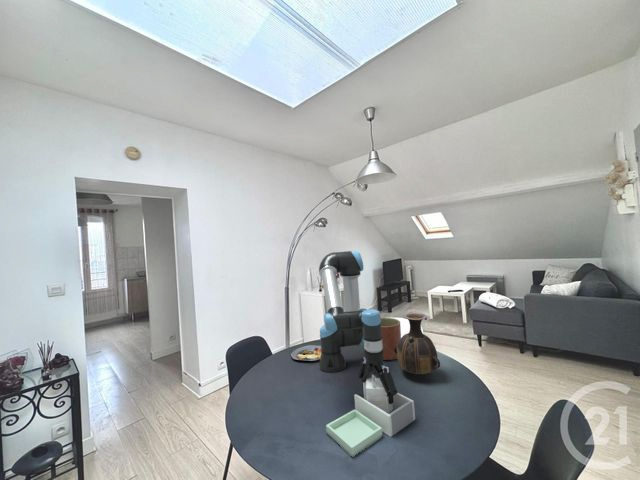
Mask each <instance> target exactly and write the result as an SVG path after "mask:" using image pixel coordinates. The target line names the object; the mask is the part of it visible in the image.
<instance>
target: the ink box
mask: <svg viewBox="0 0 640 480" xmlns="http://www.w3.org/2000/svg"><path fill="white" fill-rule="evenodd" d="M386 394H387V393H386V391H385V389H384V387H383V385H382V383H381V381H380V379H379V378H378V377H376V376H375V375H374V373H373V374H372V373H371V377H368V378H367V379H366V397H367V399H366V400H367V401H368V402H370V403H372V404H373V405H375V406H376V407H378V408H380V409H381V410H383V411H385V412H386V413H387V408H386V396H385V395H386ZM390 413H391V412H389V413H388V414H390Z"/></svg>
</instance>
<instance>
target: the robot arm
mask: <svg viewBox="0 0 640 480" xmlns="http://www.w3.org/2000/svg"><path fill="white" fill-rule="evenodd" d="M362 271H364V262H363V258H362V255H361V253H360V252H359V251H357V250H348V251H337V252H335V251H334V252H333V251H332V252H330V253H328V254H326V255H325V256H324V257H323V258H322V259H321V261H320V264H319V267H318V273H319V277H320V278H321V279H322V285H323V286H322V287H323V294H324V299H325V305H326V312H327V313H325V314H324V315H323V322H324V325H322V326H321V327H320V328H319V338H320V345H321V357H320V359H319V361H318V368H319V370H320V371H322V372H325V373H338V372H341V371H343V370H344V369H345V368H346V366H347V363H346V359H345V357H344V354H343V351H342V348H344V347H345V348H348V347H356V346H357V347H359V346H363V348H364V351H363V352H364V357H361V358H360V367H359V371H358V375H357V378H358V379H359V380H360V381H361V382H362V383H361V384H362V389H363V390H362V391H363V399H365V400H367V397H366V379H367V378H370V375H372V373H373V375H374V374H375V375H376V376H377V377H376V378H379V379H380V381H381V383H382V385H383V387H384V389H385V391H386V393H387V394H386V395H385V396H386V408H387V413H391V412H393V411H394V409H393V402H394V401H393V396H394V395H396V394H397V393H398V390H397V388H396V384H395V382H394V379H393V376H392V372H391V367H390V365H388V366H385V365H384V360H383V359H384V354H383V350H382V349H383V342H382V330H381V318H382V317H381V312H380V311H379V310H377V309H369V308H368V309H367V308H365V307H364V308H363V307H362V308H361V304H360V302H361V301H360V288H359V277H361V272H362ZM337 274H339V275H340V277H341V278H342V285H343V286H342V287H343V297H344V298H343V300H344V305H343V301H342V297H341V291H340V288H339V283H338V279H337Z"/></svg>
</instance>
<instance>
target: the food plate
mask: <svg viewBox="0 0 640 480" xmlns="http://www.w3.org/2000/svg"><path fill="white" fill-rule="evenodd" d="M303 351H304V352H303ZM300 352H301V354H299V353H300ZM303 354H305V355H303ZM290 355H291V357H292V359H293V360H298V361H305V362H307V361H308V362H309V361H310V362H312V361H313V362H315V361H320V357H321V344H319V345H318V344H310V345H303V346H300V347H298V348H296V349H294V350H293V352H291V354H290Z"/></svg>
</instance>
